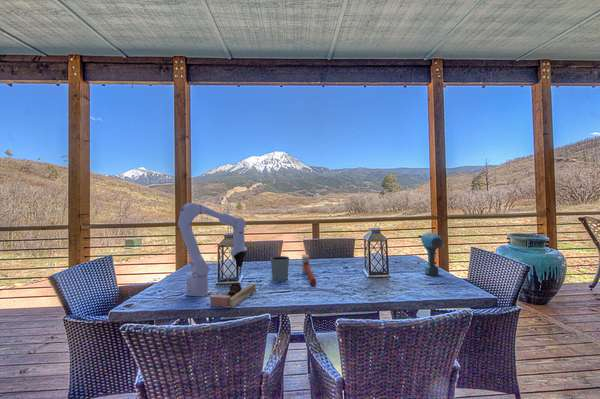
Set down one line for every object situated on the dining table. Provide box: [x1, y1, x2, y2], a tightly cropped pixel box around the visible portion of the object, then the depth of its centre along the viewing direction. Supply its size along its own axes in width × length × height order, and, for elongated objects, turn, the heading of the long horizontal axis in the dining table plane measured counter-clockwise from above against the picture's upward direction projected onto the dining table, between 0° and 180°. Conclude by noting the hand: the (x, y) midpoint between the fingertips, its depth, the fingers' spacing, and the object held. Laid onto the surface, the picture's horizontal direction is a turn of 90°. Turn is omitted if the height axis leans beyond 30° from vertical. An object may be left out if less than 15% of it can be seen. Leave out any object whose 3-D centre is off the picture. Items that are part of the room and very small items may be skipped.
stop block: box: [210, 293, 231, 308], centre depth 130 cm, size 8×3×4 cm, turn 74°
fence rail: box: [228, 283, 256, 309], centre depth 139 cm, size 2×23×4 cm, turn 164°
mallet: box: [301, 254, 317, 286], centre depth 170 cm, size 11×4×30 cm
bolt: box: [226, 282, 243, 297], centre depth 139 cm, size 6×5×15 cm
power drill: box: [418, 232, 443, 277], centre depth 175 cm, size 28×9×23 cm, turn 179°
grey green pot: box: [270, 255, 290, 283], centre depth 169 cm, size 10×10×12 cm
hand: (239, 266), depth 159 cm, fingers closed
